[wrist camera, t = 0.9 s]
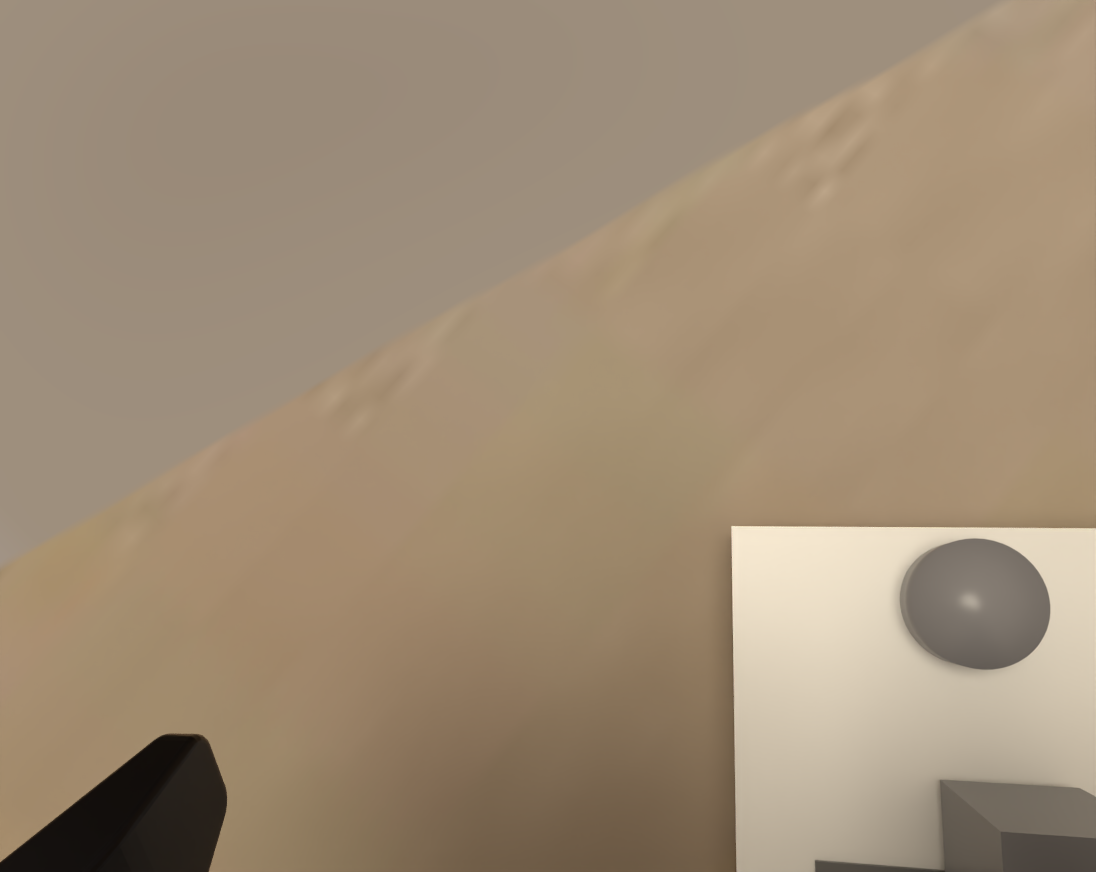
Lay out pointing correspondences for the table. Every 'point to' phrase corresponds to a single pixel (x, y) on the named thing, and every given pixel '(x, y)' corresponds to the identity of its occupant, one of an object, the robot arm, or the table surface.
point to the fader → (1017, 828)
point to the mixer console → (902, 683)
